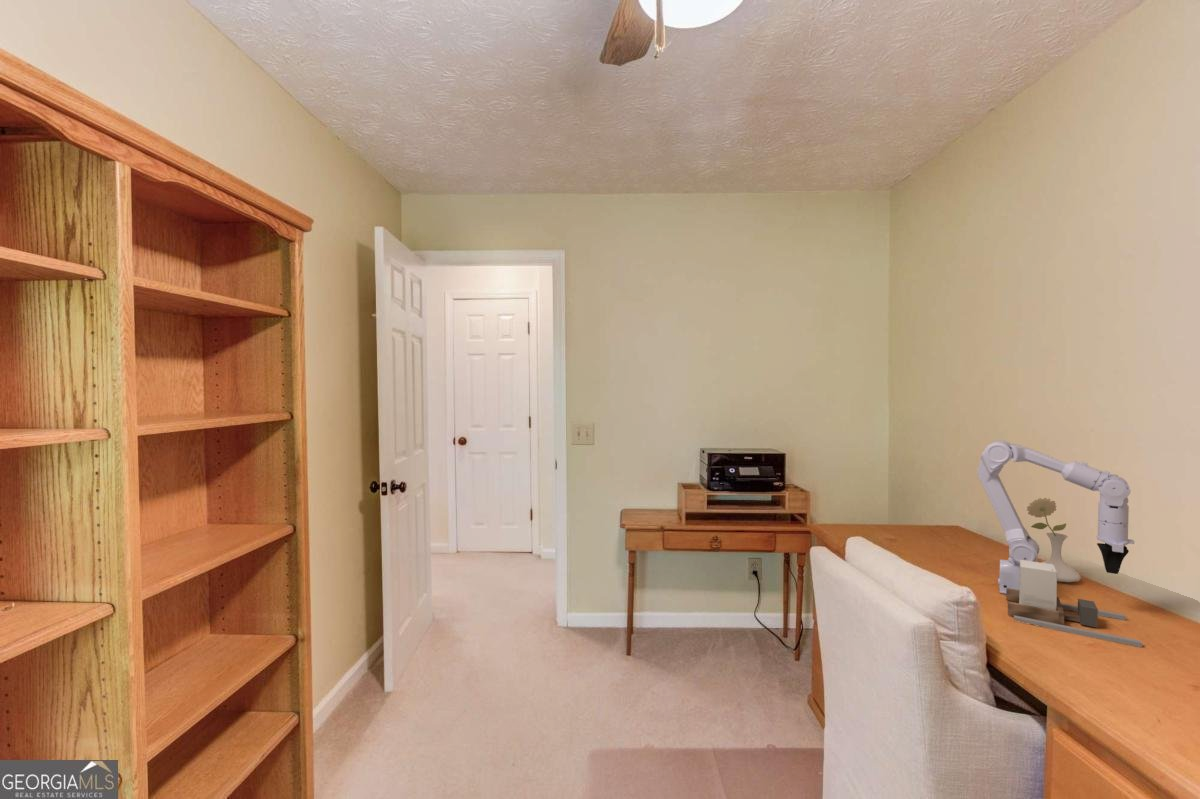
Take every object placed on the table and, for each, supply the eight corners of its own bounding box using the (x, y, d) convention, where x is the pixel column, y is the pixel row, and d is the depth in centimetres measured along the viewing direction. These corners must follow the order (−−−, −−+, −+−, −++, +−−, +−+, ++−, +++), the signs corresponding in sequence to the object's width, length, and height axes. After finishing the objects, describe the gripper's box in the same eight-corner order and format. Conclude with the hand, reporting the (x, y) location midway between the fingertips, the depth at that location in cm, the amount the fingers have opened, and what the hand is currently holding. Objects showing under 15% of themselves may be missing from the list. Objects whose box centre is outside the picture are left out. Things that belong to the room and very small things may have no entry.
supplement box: (1054, 611, 140) (1054, 564, 139) (1056, 621, 134) (1057, 571, 133) (1018, 604, 144) (1019, 558, 144) (1019, 613, 138) (1020, 566, 138)
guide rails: (1013, 621, 133) (1013, 617, 133) (1010, 597, 149) (1011, 593, 149) (1142, 647, 120) (1142, 643, 120) (1124, 618, 135) (1124, 614, 135)
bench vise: (1007, 614, 137) (1008, 597, 136) (1006, 598, 147) (1006, 582, 147) (1099, 632, 126) (1100, 614, 126) (1091, 614, 137) (1091, 597, 137)
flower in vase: (1076, 577, 165) (1077, 497, 164) (1084, 588, 155) (1086, 504, 155) (1023, 569, 172) (1024, 493, 171) (1028, 580, 162) (1029, 499, 162)
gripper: (1141, 529, 131) (1139, 584, 131) (1128, 518, 142) (1127, 568, 142) (1102, 525, 135) (1100, 578, 135) (1092, 514, 146) (1091, 563, 147)
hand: (1111, 572), depth 139 cm, fingers closed
